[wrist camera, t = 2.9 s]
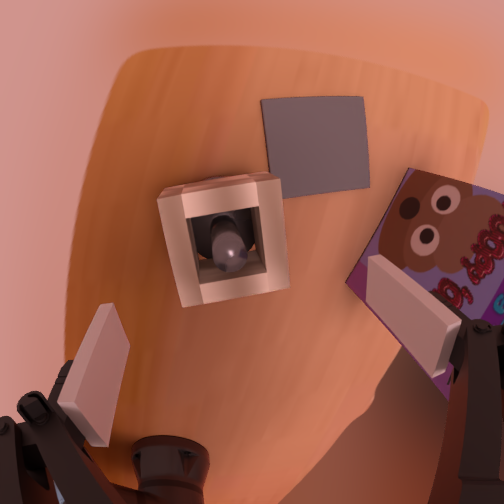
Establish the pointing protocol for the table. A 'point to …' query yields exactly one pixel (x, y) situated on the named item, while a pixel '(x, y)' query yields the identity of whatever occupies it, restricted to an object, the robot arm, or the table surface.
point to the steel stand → (224, 236)
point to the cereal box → (443, 247)
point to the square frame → (205, 271)
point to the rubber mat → (317, 144)
